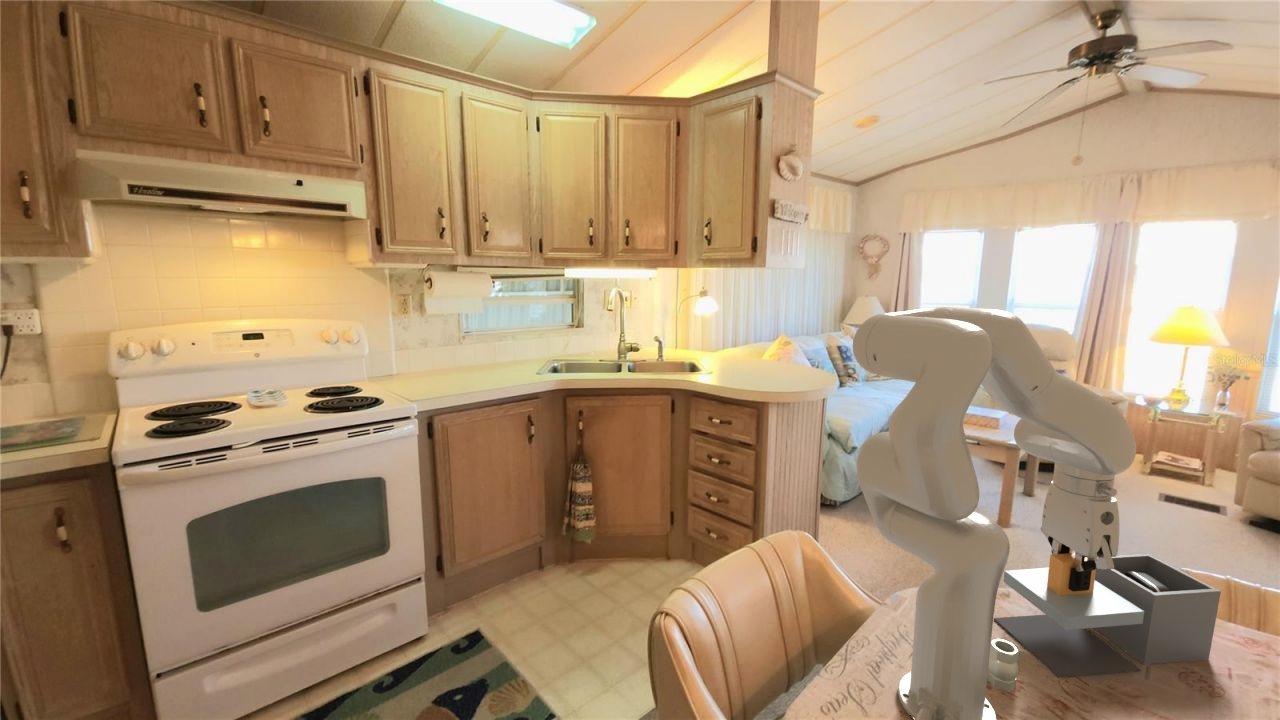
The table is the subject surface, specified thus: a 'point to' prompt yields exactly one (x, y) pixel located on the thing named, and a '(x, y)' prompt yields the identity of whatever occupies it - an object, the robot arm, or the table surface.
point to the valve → (1003, 665)
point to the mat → (1065, 647)
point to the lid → (1072, 596)
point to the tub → (1162, 611)
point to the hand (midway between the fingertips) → (1070, 583)
